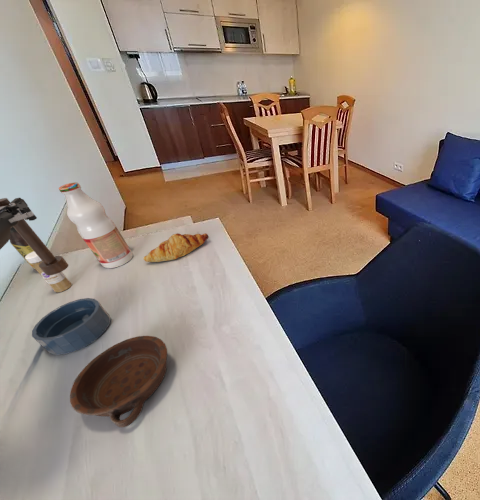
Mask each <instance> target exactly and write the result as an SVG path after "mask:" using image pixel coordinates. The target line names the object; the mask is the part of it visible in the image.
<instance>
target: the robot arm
mask: <svg viewBox="0 0 480 500" xmlns="http://www.w3.org/2000/svg"><path fill="white" fill-rule="evenodd" d="M22 219H24V220H25V221H29V222H31V221H35V220H37V219H38V217H37V216H36V215H35V214H34V212H33V211H32V209H31V208H30V207H29V205H28V203H27V202H26V200H25V199H24V198H21V197H15V198H14V199H13V200H11V201H10V203H9V204H8V205H6V206H2V207H0V250H1V249H3V248H4V247H5V245H7V244H8V243H9V242H10V240H9V239H10V229H11V228H12V227H14V226H15V225H17V224H18V221H19V220H22Z"/></svg>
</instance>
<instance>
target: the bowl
mask: <svg viewBox="0 0 480 500" xmlns="http://www.w3.org/2000/svg"><path fill="white" fill-rule="evenodd" d="M110 324H111V316H110V314H109V313H108V312H107V310H106V309H105V308H104V306H103V305H102V303H100V301H99V300H97V299H96V298H92V297H86V298H78V299H75V300H72V301H68V302H66V303H65V304H62V305H60V306H58V307H56V308H54V309H52V310H51V311H49V312H48V313H46V314H45V315H44V316H43V317H42V318H40V320H39V321H38V322H36V324H35V325H34V326H33V328H32V330H31V337H32V338H33V339H34V340H35V341H36V342H37V343H38V344H39V345H41V346H42V348H44V349H45V350H46V351H47V352H48V353H49V354H50V355H57V356H59V355H66V354H70V353H74V352H77V351H80V350H82V349H84V348H86V347H87V346H89V345H91V344H92V343H94V342H95V341H96V340H97V339H99V338H100V337H101V336H102V335H103V334H104V333H105V331H106V330H107V329H108V328H109V325H110Z"/></svg>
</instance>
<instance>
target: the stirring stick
mask: <svg viewBox="0 0 480 500" xmlns="http://www.w3.org/2000/svg"><path fill="white" fill-rule="evenodd" d="M10 202H11V201H10V200H9V198H7V197H2V198H0V207H2V206H6V205H8V204H9V203H10ZM14 228H15V229H16V231H17V232H18V233H19V234H20V235H21V236H22V238H23V239H24V240H25V241H26V242H27V244H28V245H29V246H30V247H31V248H32V249H33V251H34V252H35V253H36V254H37V255H38V256H39V258H40V259H41V260H42V261H43V262H41V263H40V264H39V267H40V268H41V269H42V271H43V272H44V273H45V274H46V275H54V274H57V273H60V272H62V273H63V272H64V271H65V270H66V269H68V268H69V263H68V262H67V261H66V259H65V258H64V257H63V256H62V255H54V254H53V252H51V251H50V249H49V248H48V247H47V245H46V244H45V243H44V242H43V240H42V239H41V238H40V237H39V236H38V234H37V233H36V231H34V230H33V228H32V227H31V226H30V225H29V223H28V222H27V220H25V219H22V220H19V221H18V224H17V225H15V226H14Z"/></svg>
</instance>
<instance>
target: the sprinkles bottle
mask: <svg viewBox="0 0 480 500" xmlns="http://www.w3.org/2000/svg"><path fill="white" fill-rule="evenodd" d="M25 259H26V260H27V261H28V262H29V263H30V264H32V265H33V267H34V268H35V269H36V270H35V269H34V268H33V269H34V270H35V271H36V272H37V273H38V274H39V275H40V276H41V278H42V279H43V280H44V281H45V282H46V284H48V285H49V286H50V287H51V289H52V290H53V291H54V293H62V292H64V291H67V290H69V289H70V288H71V287H72V285H73V284H72V282H71V281H70V280H69V279H68V278H67V276H66V275H65V273H64V272H63V271H62V272H60V273H57V274H54V275H46V274H45V273H44V272H43V271H42V269H41V268H40V267H39V264H40V263H41V262H43V261H42V260H41V259H40V258H39V256H38V255H37V254H36V253H35V252H34V251H33V252H31V253H29V254H28V255H26V257H25ZM25 259H24V260H25ZM26 260H25V261H26ZM27 261H26V262H27ZM28 262H27V263H28ZM29 263H28V264H29ZM30 264H29V265H30Z"/></svg>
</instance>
